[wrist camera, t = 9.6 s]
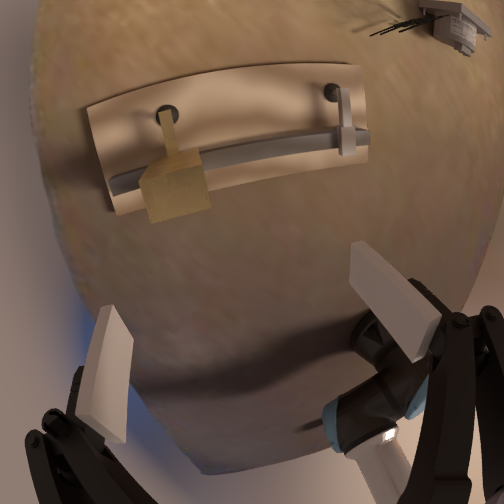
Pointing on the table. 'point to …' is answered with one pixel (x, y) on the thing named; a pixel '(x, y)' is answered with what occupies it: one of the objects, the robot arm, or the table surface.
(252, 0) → the table surface
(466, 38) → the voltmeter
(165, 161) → the brass sliding point
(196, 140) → the gauge board
